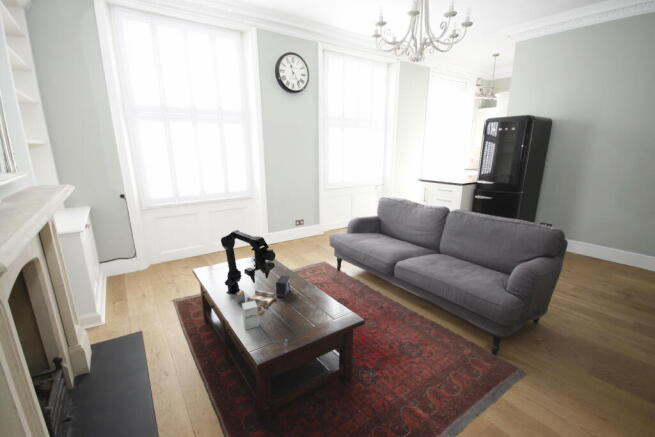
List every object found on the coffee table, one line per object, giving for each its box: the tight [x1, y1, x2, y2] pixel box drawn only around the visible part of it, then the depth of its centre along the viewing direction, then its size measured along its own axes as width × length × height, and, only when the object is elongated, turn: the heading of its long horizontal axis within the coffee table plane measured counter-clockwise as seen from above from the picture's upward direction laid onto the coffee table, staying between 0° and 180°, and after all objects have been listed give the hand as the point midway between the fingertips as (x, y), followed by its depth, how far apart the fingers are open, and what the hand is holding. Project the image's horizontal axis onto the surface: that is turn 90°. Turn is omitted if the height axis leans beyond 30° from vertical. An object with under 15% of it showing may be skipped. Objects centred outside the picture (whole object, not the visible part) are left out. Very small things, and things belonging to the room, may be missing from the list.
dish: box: [257, 306, 265, 316], centre depth 178 cm, size 8×8×4 cm
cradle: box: [246, 289, 277, 308], centre depth 190 cm, size 14×12×4 cm
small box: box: [275, 275, 291, 298], centre depth 198 cm, size 11×6×10 cm, turn 168°
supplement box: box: [241, 301, 259, 331], centre depth 164 cm, size 7×7×13 cm
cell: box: [236, 290, 246, 306], centre depth 186 cm, size 4×4×8 cm
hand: (260, 280), depth 188 cm, fingers open, 9 cm apart
